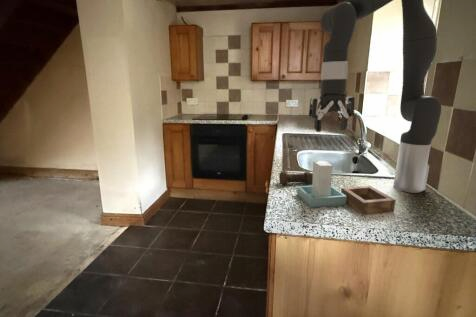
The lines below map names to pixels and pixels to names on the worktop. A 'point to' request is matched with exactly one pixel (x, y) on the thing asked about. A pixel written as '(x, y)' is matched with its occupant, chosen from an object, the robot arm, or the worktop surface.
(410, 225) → the worktop surface
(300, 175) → the bolt
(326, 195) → the skincare box
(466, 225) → the worktop surface
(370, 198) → the holder
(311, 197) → the tray
